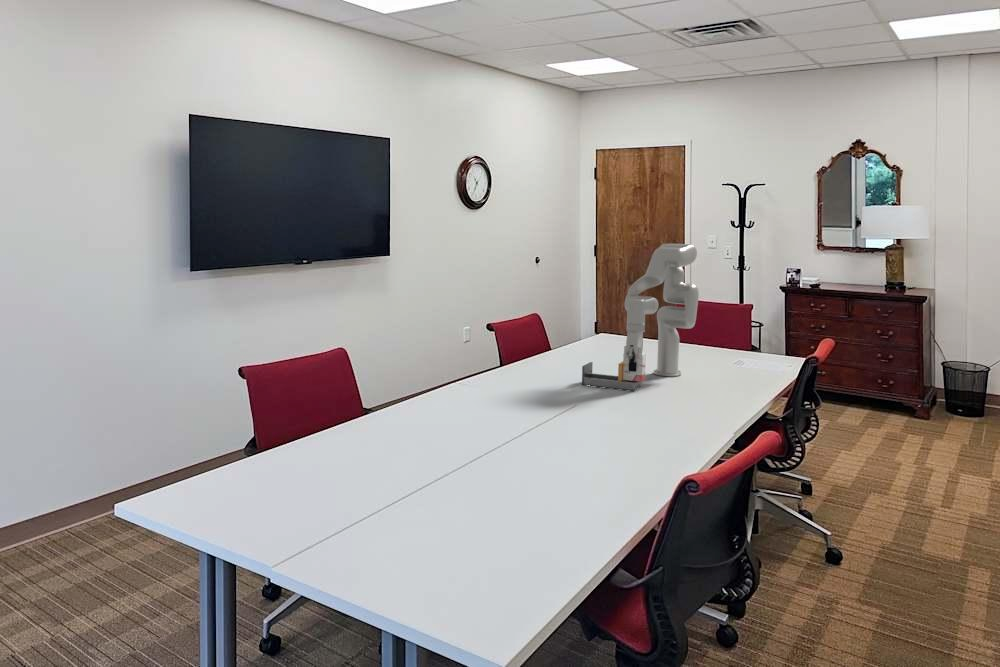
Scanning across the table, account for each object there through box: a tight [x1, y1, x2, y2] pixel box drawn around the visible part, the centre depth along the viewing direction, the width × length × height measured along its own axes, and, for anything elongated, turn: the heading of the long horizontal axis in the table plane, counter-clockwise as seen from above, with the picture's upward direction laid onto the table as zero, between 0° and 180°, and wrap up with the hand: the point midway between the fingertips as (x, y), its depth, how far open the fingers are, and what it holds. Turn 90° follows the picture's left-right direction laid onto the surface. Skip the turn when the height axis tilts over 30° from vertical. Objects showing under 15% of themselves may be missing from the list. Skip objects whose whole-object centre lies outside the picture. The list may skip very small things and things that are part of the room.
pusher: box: [617, 361, 627, 382], centre depth 319 cm, size 7×2×10 cm, turn 153°
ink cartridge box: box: [622, 345, 647, 382], centre depth 316 cm, size 9×5×15 cm, turn 63°
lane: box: [581, 361, 641, 392], centre depth 321 cm, size 10×23×8 cm, turn 63°
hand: (634, 369), depth 316 cm, fingers closed on ink cartridge box, 5 cm apart
